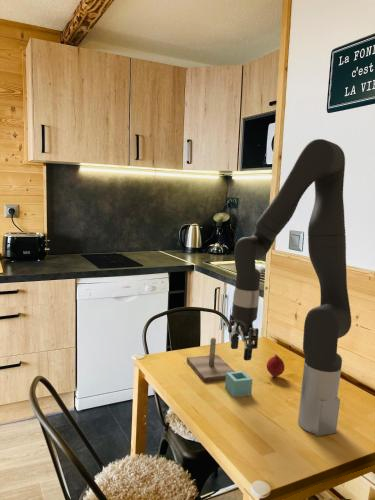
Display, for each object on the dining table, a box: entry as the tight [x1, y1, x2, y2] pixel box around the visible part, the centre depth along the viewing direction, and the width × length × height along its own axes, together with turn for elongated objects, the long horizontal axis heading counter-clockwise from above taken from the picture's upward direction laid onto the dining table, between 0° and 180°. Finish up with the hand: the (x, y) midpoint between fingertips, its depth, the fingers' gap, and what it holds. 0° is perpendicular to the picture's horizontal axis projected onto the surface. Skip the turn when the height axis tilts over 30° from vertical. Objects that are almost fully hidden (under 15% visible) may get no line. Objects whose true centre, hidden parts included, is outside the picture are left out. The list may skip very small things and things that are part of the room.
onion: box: [266, 353, 285, 378], centre depth 136 cm, size 6×6×8 cm
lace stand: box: [186, 337, 236, 383], centre depth 138 cm, size 16×12×11 cm
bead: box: [224, 370, 253, 398], centre depth 124 cm, size 6×6×5 cm
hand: (240, 353), depth 123 cm, fingers open, 8 cm apart
